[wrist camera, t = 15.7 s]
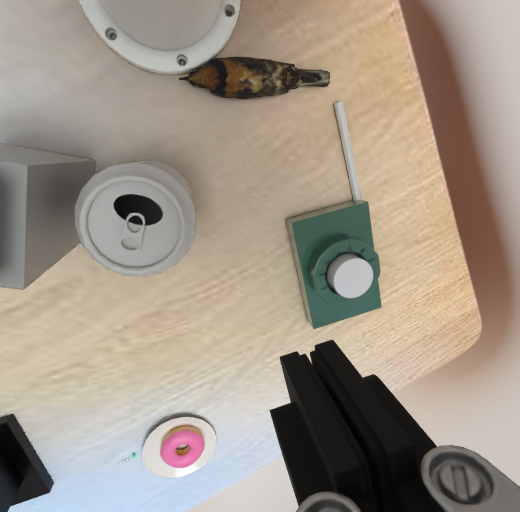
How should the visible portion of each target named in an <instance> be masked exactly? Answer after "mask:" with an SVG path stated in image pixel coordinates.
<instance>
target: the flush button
mask: <svg viewBox="0 0 520 512" xmlns="http://www.w3.org/2000/svg"><path fill="white" fill-rule="evenodd" d="M327 279H328V282H329V284H330V286H331V287H332V288H333V289H334V290H335V291H336V292H337V293H339V294H340V295H341V296H343V297H346V298H355V297H358V296H361V295H362V294H364V293H365V292H366V291H367V290H368V289H369V287H370V286H371V283H372V281H373V270H372V267H371V266H370V264H369V263H368V262H367V261H365V260H364V259H362V258H360V257H359V256H357V255H355V254H351V253H347V254H342V255H340V256H338V257H336V258H335V259H334V260H333V261H332V262H331V264H330V265H329V268H328V271H327Z"/></svg>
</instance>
